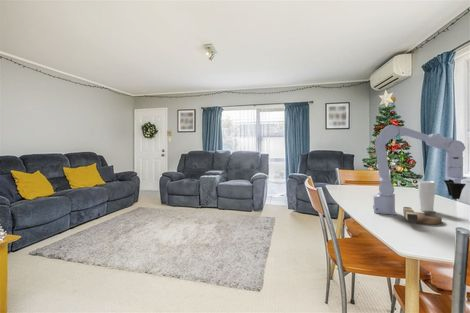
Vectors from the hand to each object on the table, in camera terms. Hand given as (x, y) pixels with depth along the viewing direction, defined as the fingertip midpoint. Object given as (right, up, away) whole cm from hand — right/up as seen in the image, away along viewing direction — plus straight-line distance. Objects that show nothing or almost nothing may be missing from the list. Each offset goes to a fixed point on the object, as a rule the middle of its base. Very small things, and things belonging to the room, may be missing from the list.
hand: (454, 197), depth 106 cm
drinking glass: (-1, -10, +14) cm, 17 cm away
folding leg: (-22, -9, -3) cm, 24 cm away
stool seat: (-14, -10, 0) cm, 18 cm away
